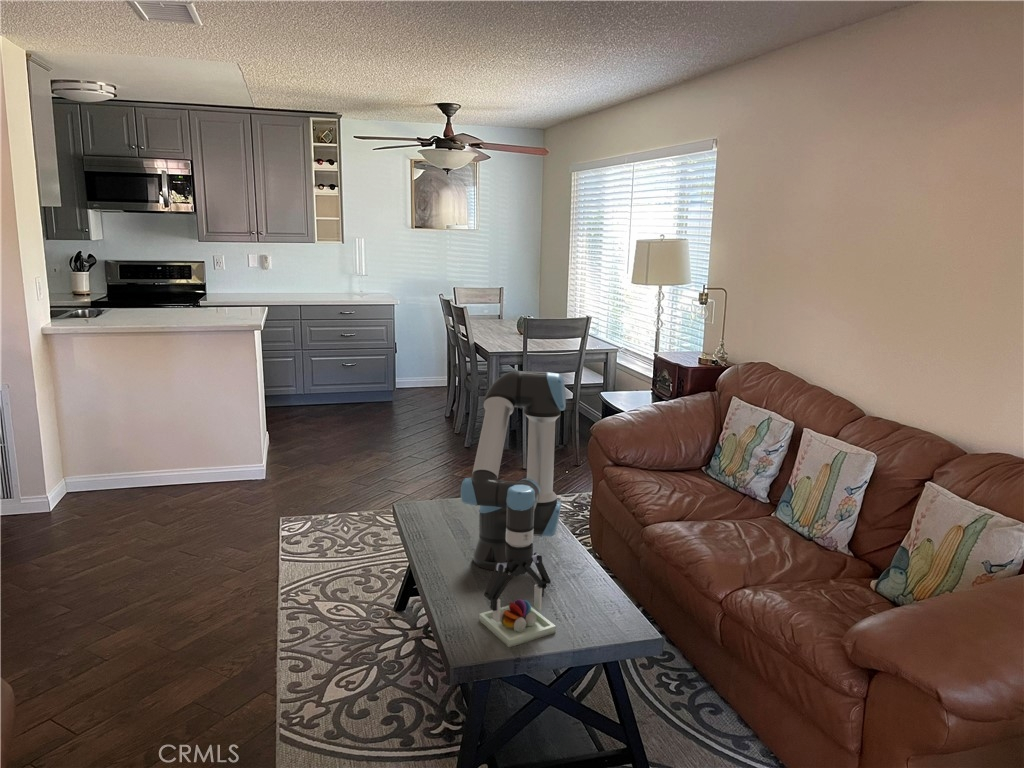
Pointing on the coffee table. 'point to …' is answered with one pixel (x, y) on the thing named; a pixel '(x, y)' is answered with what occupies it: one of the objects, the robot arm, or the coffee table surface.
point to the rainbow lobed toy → (518, 615)
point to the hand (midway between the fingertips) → (517, 614)
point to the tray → (513, 637)
